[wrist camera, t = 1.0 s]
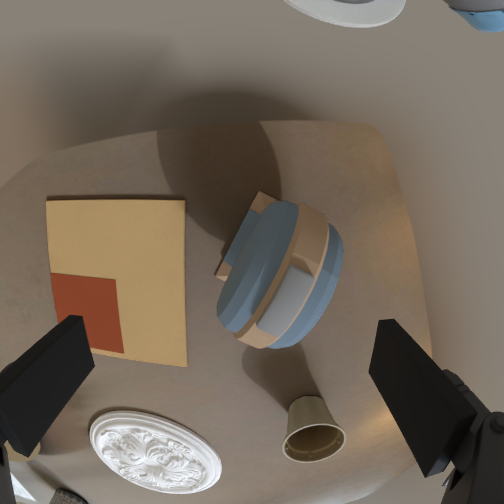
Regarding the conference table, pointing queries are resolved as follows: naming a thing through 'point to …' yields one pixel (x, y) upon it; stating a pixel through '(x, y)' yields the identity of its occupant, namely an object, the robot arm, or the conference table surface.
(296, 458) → the flower pot
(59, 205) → the mat
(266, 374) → the conference table surface
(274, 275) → the alarm clock
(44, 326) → the conference table surface
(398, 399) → the robot arm
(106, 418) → the ceiling medallion
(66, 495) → the planter
